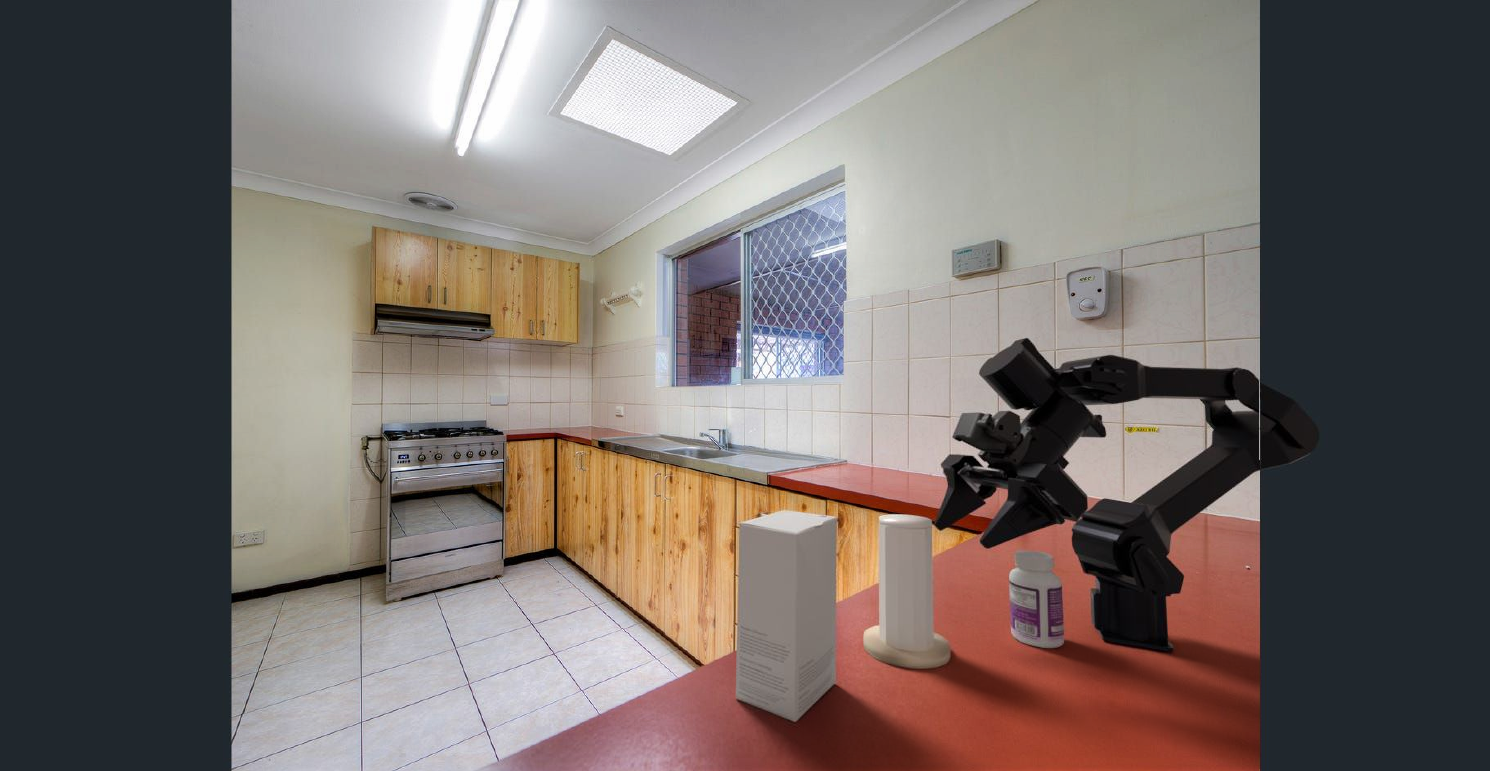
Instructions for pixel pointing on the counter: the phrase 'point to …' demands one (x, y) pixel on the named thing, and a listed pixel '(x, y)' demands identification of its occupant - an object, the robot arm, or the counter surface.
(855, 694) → the counter surface
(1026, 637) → the pill bottle
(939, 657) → the post base
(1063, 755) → the counter surface
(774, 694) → the skincare box
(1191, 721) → the counter surface
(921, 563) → the white plastic canister
